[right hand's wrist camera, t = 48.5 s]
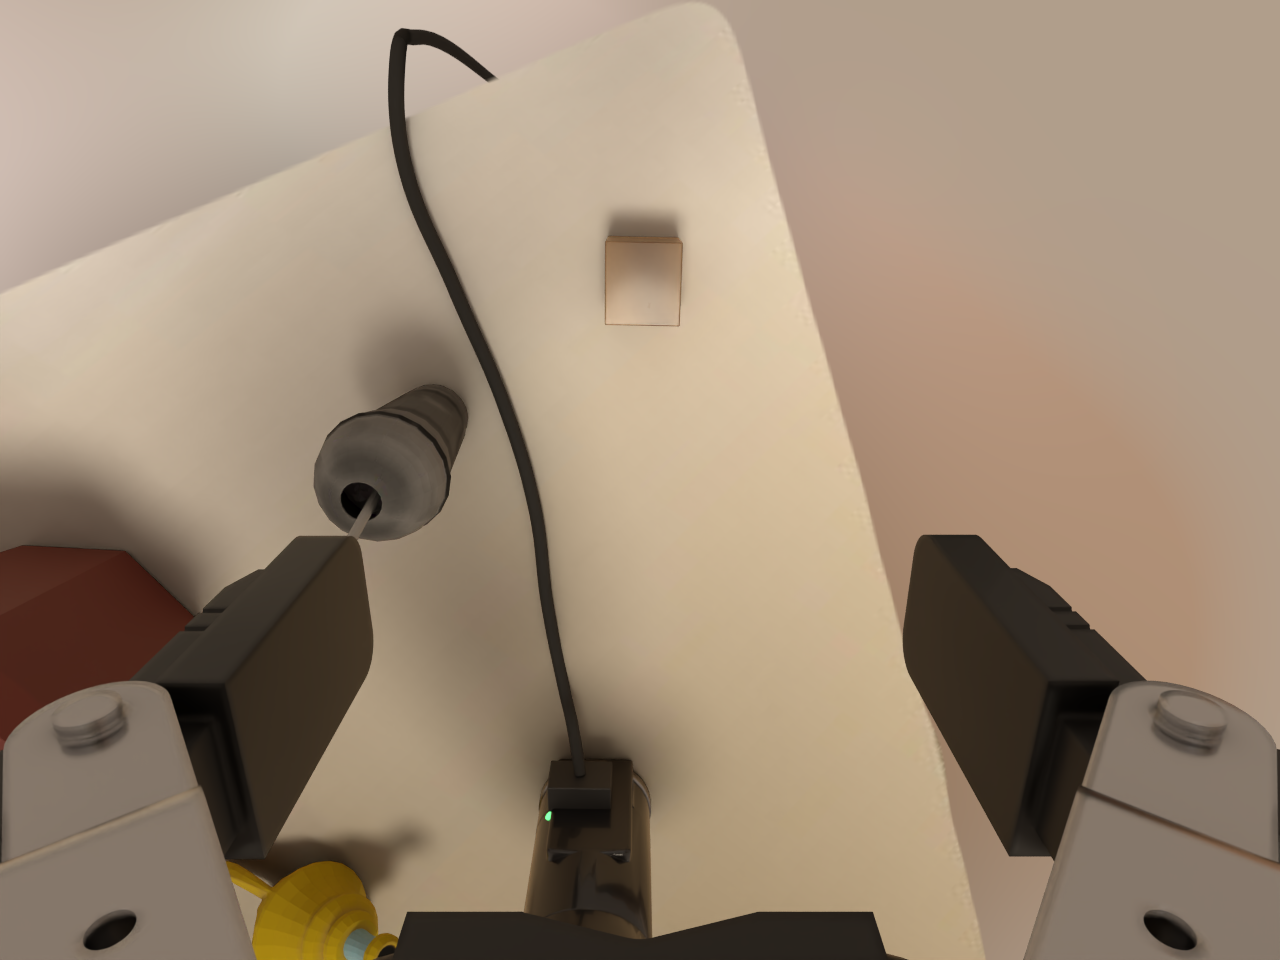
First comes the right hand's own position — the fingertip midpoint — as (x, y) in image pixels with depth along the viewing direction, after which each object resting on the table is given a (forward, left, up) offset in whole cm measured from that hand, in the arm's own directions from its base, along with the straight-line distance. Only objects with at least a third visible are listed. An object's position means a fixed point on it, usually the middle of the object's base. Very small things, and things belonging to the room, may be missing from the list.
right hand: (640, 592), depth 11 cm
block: (0, 0, -42) cm, 42 cm away
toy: (+53, -25, -42) cm, 72 cm away
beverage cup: (+10, -14, -42) cm, 45 cm away
